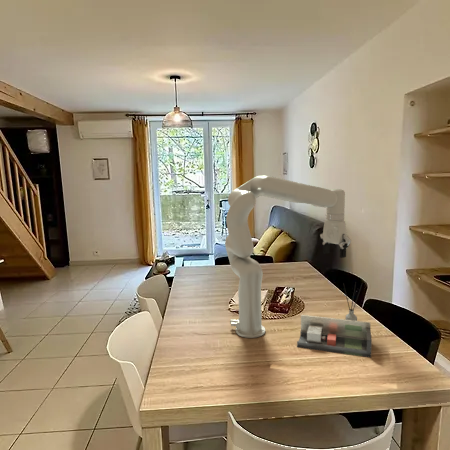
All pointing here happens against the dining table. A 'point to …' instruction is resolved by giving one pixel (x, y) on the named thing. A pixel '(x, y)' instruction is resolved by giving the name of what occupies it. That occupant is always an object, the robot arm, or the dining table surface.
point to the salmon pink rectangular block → (331, 339)
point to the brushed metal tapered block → (315, 334)
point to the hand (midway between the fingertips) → (334, 255)
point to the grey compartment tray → (338, 335)
